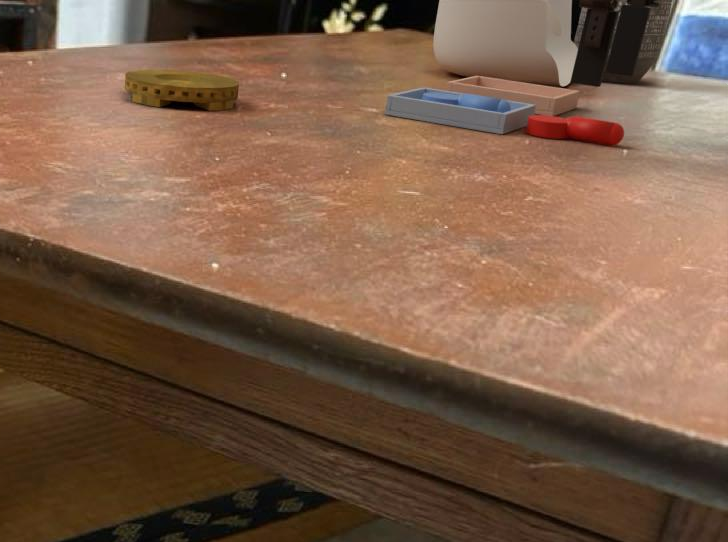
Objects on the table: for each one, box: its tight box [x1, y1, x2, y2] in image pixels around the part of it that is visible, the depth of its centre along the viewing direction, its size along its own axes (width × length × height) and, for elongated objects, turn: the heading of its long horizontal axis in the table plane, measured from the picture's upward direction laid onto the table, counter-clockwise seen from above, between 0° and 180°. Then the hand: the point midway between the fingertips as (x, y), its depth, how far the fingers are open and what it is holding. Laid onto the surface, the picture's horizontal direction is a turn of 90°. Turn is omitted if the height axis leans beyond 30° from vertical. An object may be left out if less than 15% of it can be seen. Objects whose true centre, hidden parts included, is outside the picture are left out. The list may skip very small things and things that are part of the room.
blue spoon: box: [422, 93, 511, 113], centre depth 119 cm, size 10×4×2 cm, turn 58°
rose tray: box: [445, 76, 581, 117], centre depth 133 cm, size 13×10×2 cm
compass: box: [124, 69, 240, 111], centre depth 117 cm, size 12×12×2 cm
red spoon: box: [525, 114, 625, 146], centre depth 114 cm, size 10×4×2 cm, turn 58°
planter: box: [573, 0, 674, 85], centre depth 162 cm, size 12×12×13 cm
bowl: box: [432, 0, 578, 87], centre depth 153 cm, size 20×19×12 cm
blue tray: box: [384, 87, 536, 135], centre depth 120 cm, size 13×10×2 cm
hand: (602, 79), depth 111 cm, fingers open, 13 cm apart
